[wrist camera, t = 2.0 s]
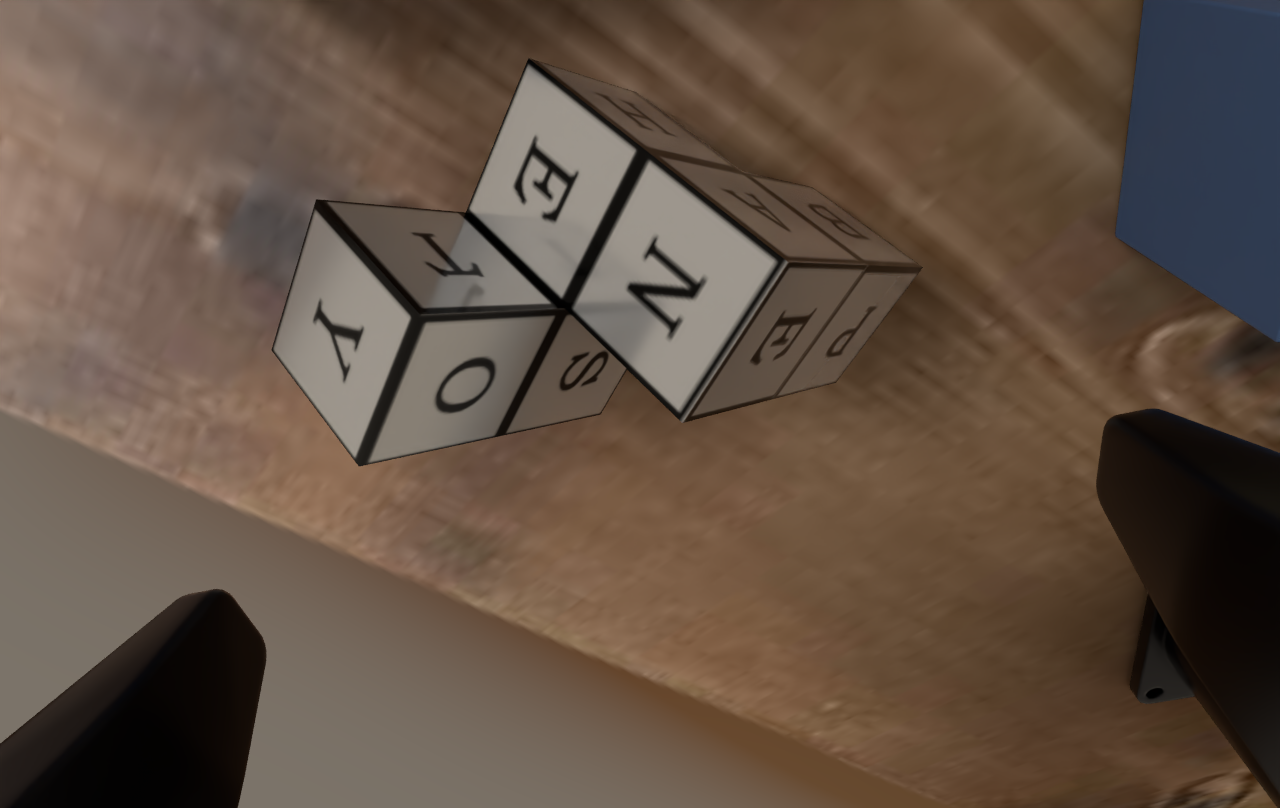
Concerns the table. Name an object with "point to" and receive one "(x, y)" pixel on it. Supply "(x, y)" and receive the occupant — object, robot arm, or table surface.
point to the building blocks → (578, 283)
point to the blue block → (1208, 152)
